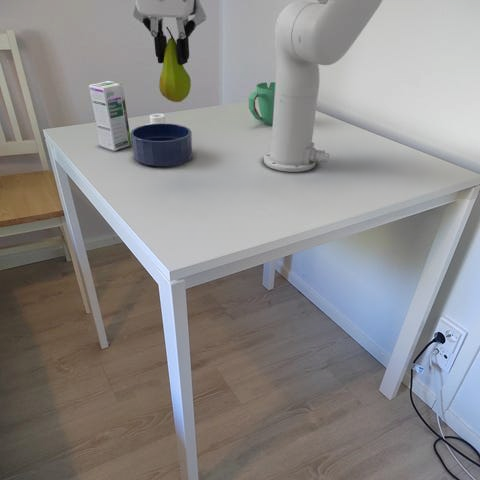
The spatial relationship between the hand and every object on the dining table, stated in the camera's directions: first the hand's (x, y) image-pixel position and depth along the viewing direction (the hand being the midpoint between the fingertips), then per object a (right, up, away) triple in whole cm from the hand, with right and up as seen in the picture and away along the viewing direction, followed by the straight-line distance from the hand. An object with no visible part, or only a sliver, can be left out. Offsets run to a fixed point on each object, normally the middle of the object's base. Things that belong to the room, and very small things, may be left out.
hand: (173, 61), depth 79 cm
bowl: (-6, -8, +26) cm, 28 cm away
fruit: (0, -5, +4) cm, 7 cm away
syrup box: (-20, -3, +32) cm, 38 cm away
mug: (+20, +11, +50) cm, 55 cm away
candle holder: (-10, +5, +42) cm, 43 cm away
